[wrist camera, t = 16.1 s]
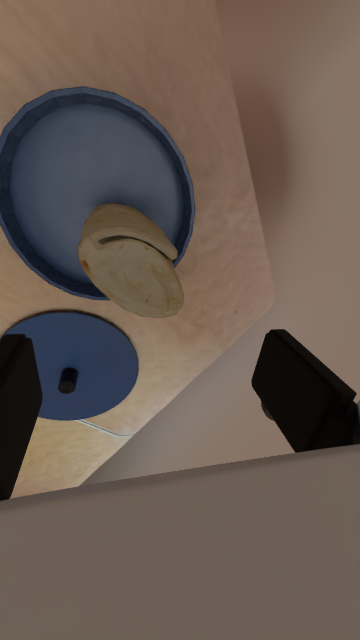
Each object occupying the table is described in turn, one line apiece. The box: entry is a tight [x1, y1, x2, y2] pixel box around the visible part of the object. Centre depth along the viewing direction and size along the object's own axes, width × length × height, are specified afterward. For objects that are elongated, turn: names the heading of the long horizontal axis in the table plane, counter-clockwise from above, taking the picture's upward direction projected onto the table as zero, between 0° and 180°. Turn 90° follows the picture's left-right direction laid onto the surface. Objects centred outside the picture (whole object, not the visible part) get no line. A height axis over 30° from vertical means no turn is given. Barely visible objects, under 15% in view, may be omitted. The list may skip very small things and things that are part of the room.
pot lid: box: [0, 311, 139, 420], centre depth 42 cm, size 23×23×5 cm
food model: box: [77, 203, 184, 318], centre depth 26 cm, size 10×7×20 cm
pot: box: [0, 87, 195, 300], centre depth 31 cm, size 22×22×4 cm
